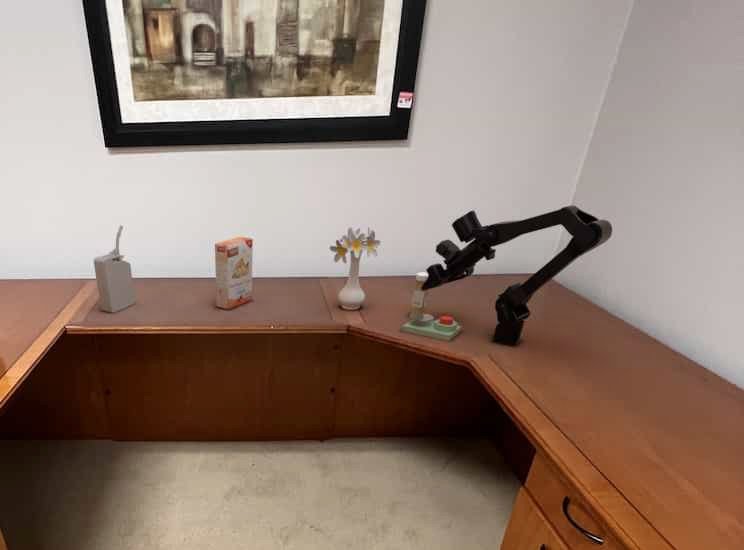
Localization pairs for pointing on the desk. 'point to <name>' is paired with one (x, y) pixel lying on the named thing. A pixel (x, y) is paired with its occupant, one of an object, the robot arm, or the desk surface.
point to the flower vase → (354, 264)
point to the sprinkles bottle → (419, 294)
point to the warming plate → (421, 317)
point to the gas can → (114, 280)
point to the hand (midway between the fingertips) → (430, 286)
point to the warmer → (432, 329)
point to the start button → (446, 320)
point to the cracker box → (233, 272)
